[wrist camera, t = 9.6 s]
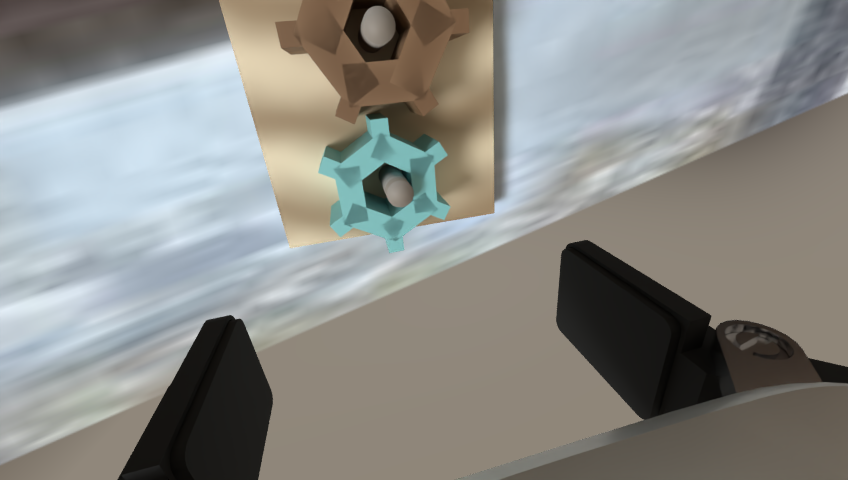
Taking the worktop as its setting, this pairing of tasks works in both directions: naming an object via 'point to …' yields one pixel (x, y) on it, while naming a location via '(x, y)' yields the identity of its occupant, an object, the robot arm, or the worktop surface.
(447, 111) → the gear board
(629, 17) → the worktop surface
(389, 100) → the walnut gear
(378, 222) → the teal gear
